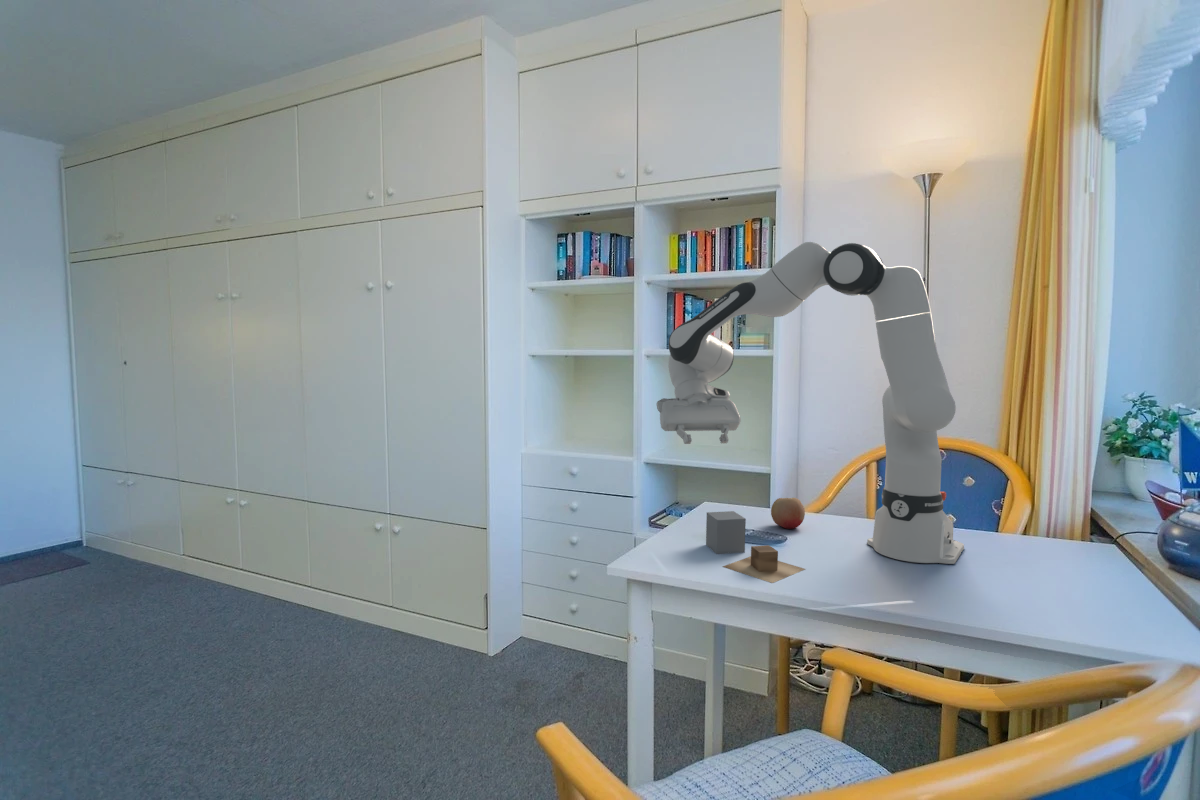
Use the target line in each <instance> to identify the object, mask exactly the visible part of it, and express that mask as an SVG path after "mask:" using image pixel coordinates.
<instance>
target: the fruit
mask: <svg viewBox="0 0 1200 800" xmlns="http://www.w3.org/2000/svg"><path fill="white" fill-rule="evenodd" d="M770 509H771V510H770V515H771V518H772V520H773V522H774V524H775V525H776V526H780V527H782V528H783V529H787V530H792V529H793V530H794V529H796V528H798V527H799V526H801V524H803V521H804V520H805V515H806V511H805V507H804V505H803V503H802V501H801V500H800V499H798V498H797V497H784V498H783V497H780V498H777V499H775V500H774V501H773V503H772V505H771V508H770Z"/></svg>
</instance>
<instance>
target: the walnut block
mask: <svg viewBox="0 0 1200 800" xmlns="http://www.w3.org/2000/svg"><path fill="white" fill-rule="evenodd" d="M750 556H751V566H753V567H754V568H755V569H756V570H758V571H759V572H763V571H777V568H778V561H779V551H778V550H777V549H775V548H774V547H772V546H770V545H769V544H767V545H752V546H751V547H750Z"/></svg>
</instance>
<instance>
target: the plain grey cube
mask: <svg viewBox="0 0 1200 800" xmlns="http://www.w3.org/2000/svg"><path fill="white" fill-rule="evenodd" d="M746 521H747V519H746V518H745V517H744V516H743V515H741V514H739V513H737V512H736V511H734V510H729V511H711V512H710V511H709V512H706V523H705V524H706V526H705V531H706V532H705V533H706V534H705V545H706V547H708V548H709V549H710V550H711V551H712V552H714V553H715V554H716V555H725V554H726V555H728V554H742V553H745V552H746V523H747V522H746Z"/></svg>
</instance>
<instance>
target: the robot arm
mask: <svg viewBox="0 0 1200 800" xmlns="http://www.w3.org/2000/svg"><path fill="white" fill-rule="evenodd" d="M882 260H883V259H882V258H881V257H880V256H879V255H878V254H877V253H876V252H875V250H874V249H872V248H871V247H868V246H866V245H863V244H859V243H854V242H851V243H850V242H849V243H844V244H841V245H839V246H837V247H836V248H834V249H833V250H832V251H831V252H830V251H829V250H827V248H825V247H823V246H822V245H821V244H819V243H816V242H813V241H806V242H803V243H801V244H800V245H798V246H797V247H795V248H794V249H792V250H791V251H789V252H788V253H787V254H785V255H784V256H783V257H782V258H780V259H779V260H778V261H777V262H776V263H775V264H773V266H772V267H771V268H769V270H768V271H766V272H765V273H763V274H762V275H760V276H758V277H757V278H754V279H753V280H751V281H747V282H742V283H740V284H738V285H736V286H734V287H732V288H730V290H728V291H726V292H725V293H724V294H722V296H720V297H718V298H717V300H714V302H712V303H711V304H710V305H708V306H707V307H706V308H704V309H703V310H702V311H700V312H699V313H698V314H696V315H695V316H694V317H692V318H690V319H688V320H687V321H685V322H683V323H681V324H679V325H678V326H676V328H674V329H673V331H672V332H671V334H670V336H669V338H668V350H669V354H670V355H669V356H668V371H669V372H668V373H669V376H670V380H671V384H672V385H673V386H674V395H675V398H672V397H671V398H663V397H662V398H660V399H659V400H658V401H656V409H657V412H659V421H660V422H659V423H660V428H661V430H663V431H665V432H676V434H677V436H679V437H680V438H681V439H682V440H683V444H684V445H690V444H691V443H692V442H693V441H692V440H693V439H692V436H691V434H687V433H686V432H709V431H711V432H712V431H713V432H714V431H715V432H721V434H720V437H719V441H720V444H727V443H729V437H728V433H729V431H736V430H738V428H739V426H740V425H741V422H742V420H741V416H740V413H739V410H738V408H737V406H736V404H735V402H734V401H732V400H731V399H730V396H731V394H730V391H728V390H727V389H722V388H719V387H716V386H713V385H710V383H712V382H714V381H716V380H718V379H719V378H721V377H722V376H724V375H725V374H727V373H728V372H729V371H730V370H731V368H732V366H733V363H734V361H735V360H734V359H735V355H734V354H735V353H734V349H733V347H732V346H731V344H729V343H727V342H726V341H724V340H722V339H720V338H719V337H717V336H714V335H713V333H714V332H716V331H717V330H718V329H720V328H722V326H724V325H725V324H726V323H728V322H730V320H732V319H733V318H736V317H738V316H741V315H757V316H764V317H767V318H781V317H785V316H786V315H788V314H790V313H792V312H793V311H795V310H796V309H797V308H798V307H799V306H800V305H801V304H802V303H804V302H805V301H806V300H807V299H808V298H809V297H810V296H811V295H812V294H813V293H814V292H816V291H817V290H818V289H820V288H821V287H824V286H829V287H830V288H832V289H833V290H834V291H835V292H838V293H841V294H843V295H847V296H866V297H867V298H868V299H869V300H870V302H871V304H872V308H873V309H872V310H873V313H874V321H875V326H876V334H877V340H878V341H877V342H878V346H879V353H880V354H879V355H880V358H881V360H882V362H883V365H884V368H885V372H886V376H887V379H888V382H889V386H888V387H887V388H886V389H885V391H884V393H883V396H882V400H881V401H882V403H881V404H882V412H883V413H882V415H883V416H882V418H883V432H884V433H883V434H884V435H883V436H884V443H885V472H884V473H885V474H884V487H882V493H881V504H882V506H881V507H880V508H878V509H877V510H876V512H875V517H874V525H873V533H872V537H871V538H870V537H869V538H867V541H866V544H867V545H868V546H871V547H872V548H873V549H874V551H875V552H877V553H878V554H880V555H882V556H885V557H888V558H891V559H895V560H899V561H904V562H909V563H920V564H938V563H939V564H947V565H948V564H949V565H953V564H956V563H957V561H958V559H959V557H961V554H962V553H963V551H964V549H965V544H964V543H962V542H960V541H959V540H954V523H953V522H952V520H951V519H950V518H949V517H948V516H947V513H946V512H944V511H943V509H944V502H945V501H946V498H947V492H946V491H941V484H942V483H941V482H942V479H941V478H942V462H943V461H942V458H943V457H942V455H941V451H940V446H939V440H938V431H939V430H940V431H941V430H942V429H944V428H946V427H947V426H948V425H949V424H951V422H952V421H953V419H954V417H955V414H956V409H957V407H956V402H955V400H954V397H953V395H952V393H951V390H950V388H949V383H948V381H947V376H946V374H945V371H944V368H943V364H942V362H941V359H940V355H939V353H938V352H939V351H938V349H937V343H936V338H935V337H936V335H935V331H934V324H933V317H932V309H931V305H930V300H929V296H928V292H927V289H926V286H925V283H924V280H923V278H922V276H921V273H920V272H919V270H918V269H916V268H913V267H911V266H906V265H897V266H892V267H888V266H886V265H884V261H882ZM961 552H962V553H961Z"/></svg>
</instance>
